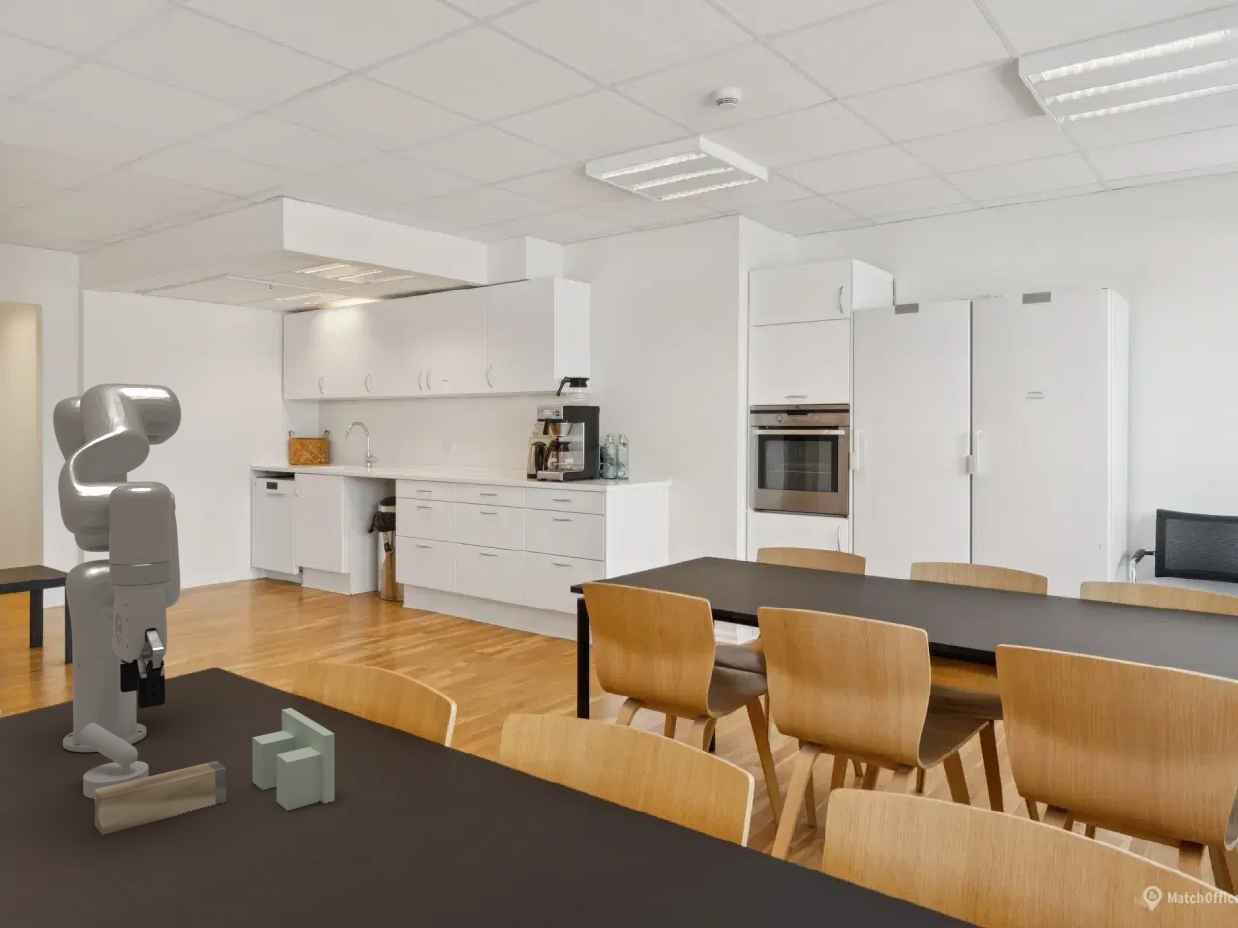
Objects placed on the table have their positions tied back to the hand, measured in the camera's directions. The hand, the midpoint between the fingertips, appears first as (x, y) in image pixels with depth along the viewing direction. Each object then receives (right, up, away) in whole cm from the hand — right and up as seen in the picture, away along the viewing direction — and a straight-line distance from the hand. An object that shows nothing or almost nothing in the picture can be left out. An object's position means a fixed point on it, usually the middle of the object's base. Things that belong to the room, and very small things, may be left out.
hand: (142, 697), depth 121 cm
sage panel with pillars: (+16, -17, +11) cm, 26 cm away
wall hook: (-11, -17, +12) cm, 24 cm away
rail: (+1, -17, +3) cm, 17 cm away
